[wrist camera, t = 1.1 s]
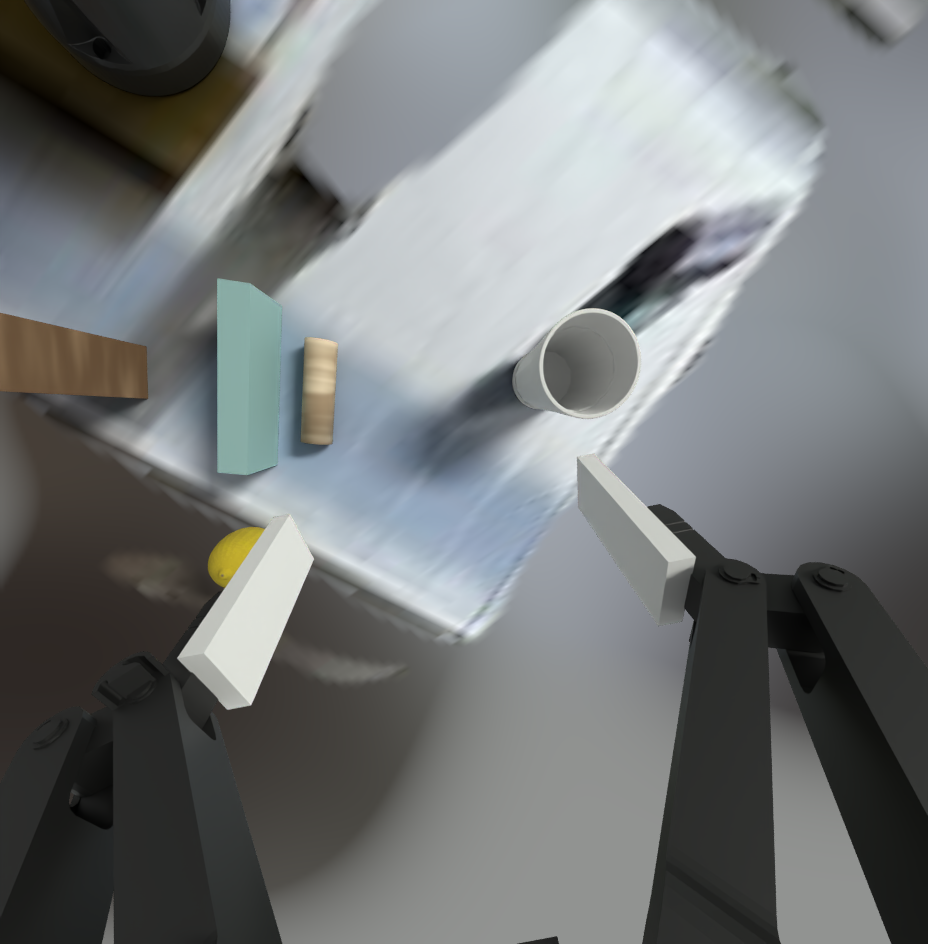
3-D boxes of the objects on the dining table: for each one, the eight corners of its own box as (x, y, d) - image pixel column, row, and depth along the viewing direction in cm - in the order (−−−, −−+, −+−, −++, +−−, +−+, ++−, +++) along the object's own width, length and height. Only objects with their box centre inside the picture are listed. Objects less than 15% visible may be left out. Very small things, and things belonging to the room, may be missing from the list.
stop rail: (252, 462, 36) (217, 472, 30) (255, 302, 33) (217, 278, 27) (277, 465, 36) (247, 475, 30) (281, 306, 34) (250, 283, 28)
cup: (533, 431, 38) (579, 439, 26) (490, 374, 37) (517, 356, 25) (589, 385, 38) (660, 373, 26) (547, 326, 36) (603, 284, 25)
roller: (329, 441, 37) (334, 445, 34) (299, 439, 35) (302, 443, 33) (334, 346, 35) (340, 342, 33) (303, 340, 34) (306, 335, 31)
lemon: (255, 508, 37) (208, 534, 29) (302, 534, 38) (267, 566, 30) (230, 549, 37) (176, 585, 29) (276, 574, 38) (236, 615, 30)
